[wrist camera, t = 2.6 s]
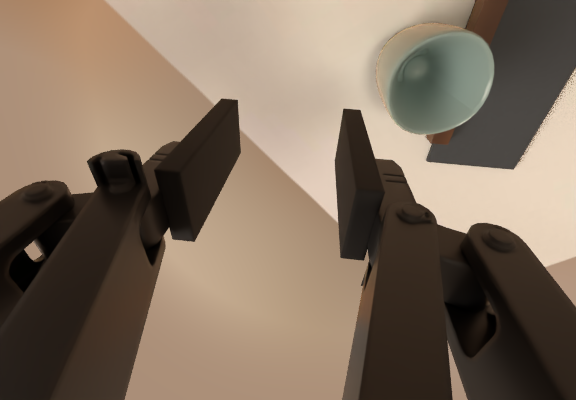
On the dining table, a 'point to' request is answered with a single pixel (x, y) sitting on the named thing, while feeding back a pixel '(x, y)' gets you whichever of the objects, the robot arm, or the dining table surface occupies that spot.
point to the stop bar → (484, 24)
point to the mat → (517, 84)
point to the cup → (434, 77)
